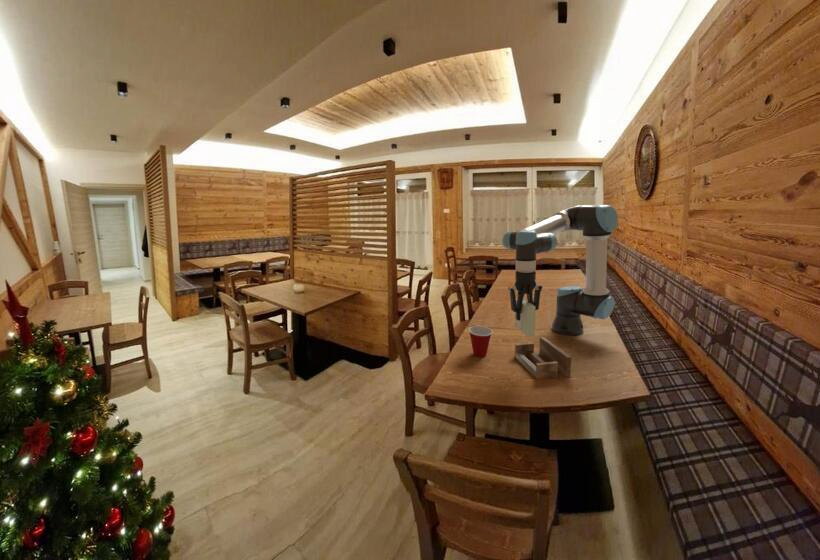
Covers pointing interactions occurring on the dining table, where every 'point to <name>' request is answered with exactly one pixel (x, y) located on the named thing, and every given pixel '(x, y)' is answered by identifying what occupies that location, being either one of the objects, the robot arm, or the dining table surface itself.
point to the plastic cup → (480, 339)
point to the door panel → (527, 318)
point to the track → (543, 369)
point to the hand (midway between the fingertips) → (524, 326)
